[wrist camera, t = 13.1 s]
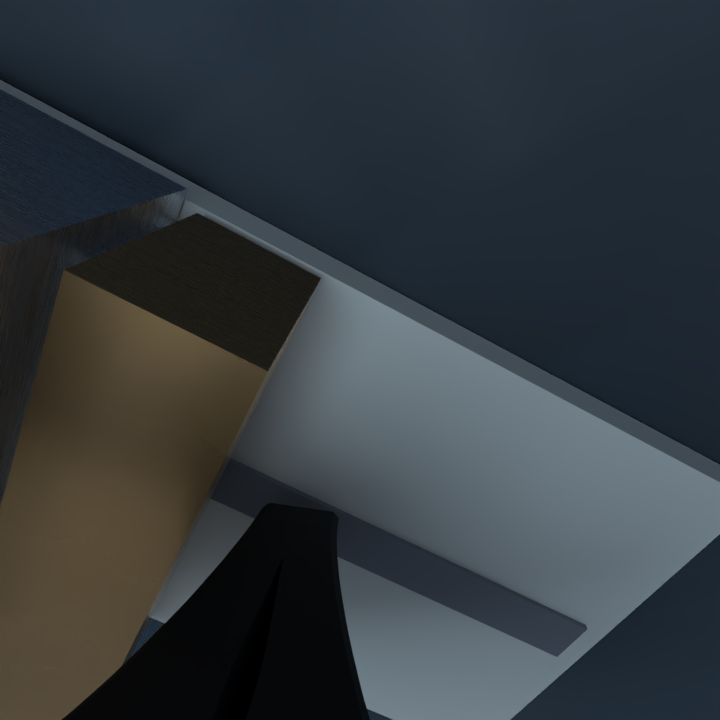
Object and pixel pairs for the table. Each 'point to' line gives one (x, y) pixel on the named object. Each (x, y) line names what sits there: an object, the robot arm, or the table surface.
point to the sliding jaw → (129, 445)
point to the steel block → (57, 234)
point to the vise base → (445, 490)
